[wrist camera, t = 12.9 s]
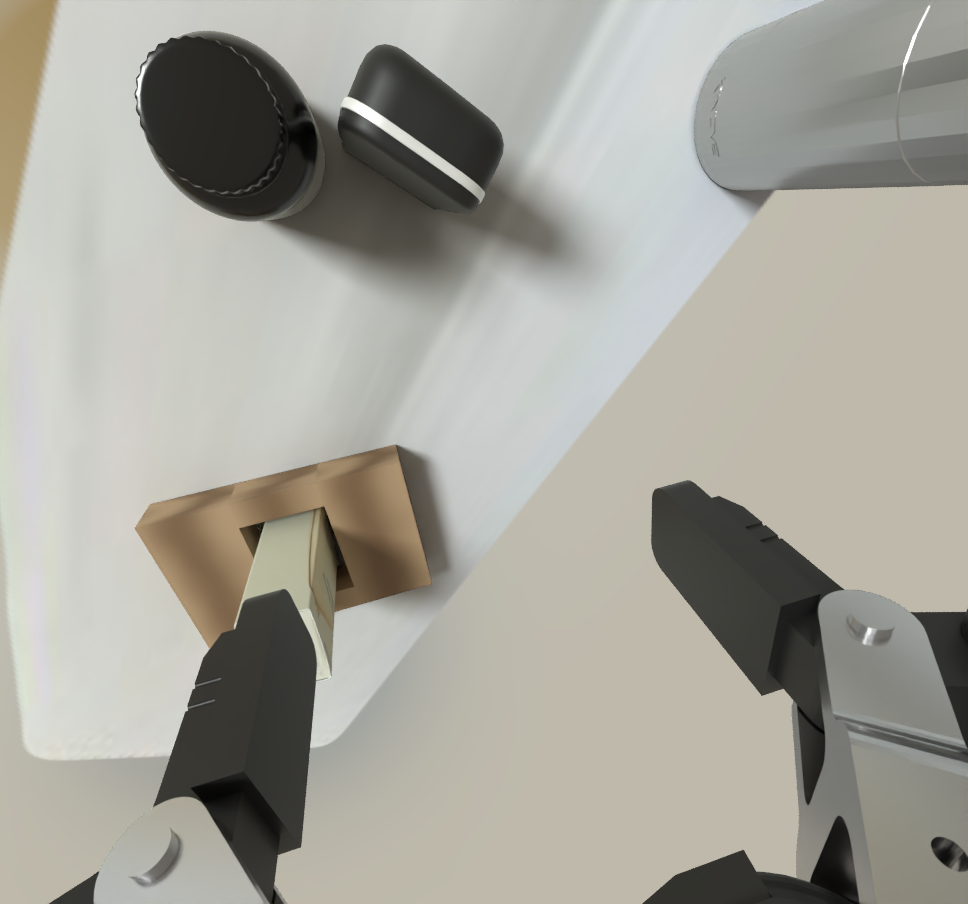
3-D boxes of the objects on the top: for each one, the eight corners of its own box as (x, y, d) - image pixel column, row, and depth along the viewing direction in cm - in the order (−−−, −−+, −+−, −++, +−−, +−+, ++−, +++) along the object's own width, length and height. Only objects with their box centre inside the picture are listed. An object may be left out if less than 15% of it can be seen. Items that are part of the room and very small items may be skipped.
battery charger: (469, 155, 30) (528, 133, 21) (440, 213, 31) (483, 219, 22) (364, 78, 27) (374, 9, 18) (335, 145, 28) (330, 117, 19)
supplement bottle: (344, 128, 28) (344, 86, 18) (300, 240, 30) (276, 261, 20) (217, 45, 25) (130, -61, 15) (178, 175, 27) (75, 160, 17)
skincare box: (338, 559, 41) (336, 681, 31) (283, 570, 41) (262, 699, 30) (322, 497, 38) (313, 608, 28) (262, 507, 38) (230, 627, 27)
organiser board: (395, 444, 38) (399, 462, 35) (426, 561, 44) (431, 583, 41) (150, 504, 35) (134, 528, 33) (218, 619, 41) (209, 648, 39)
